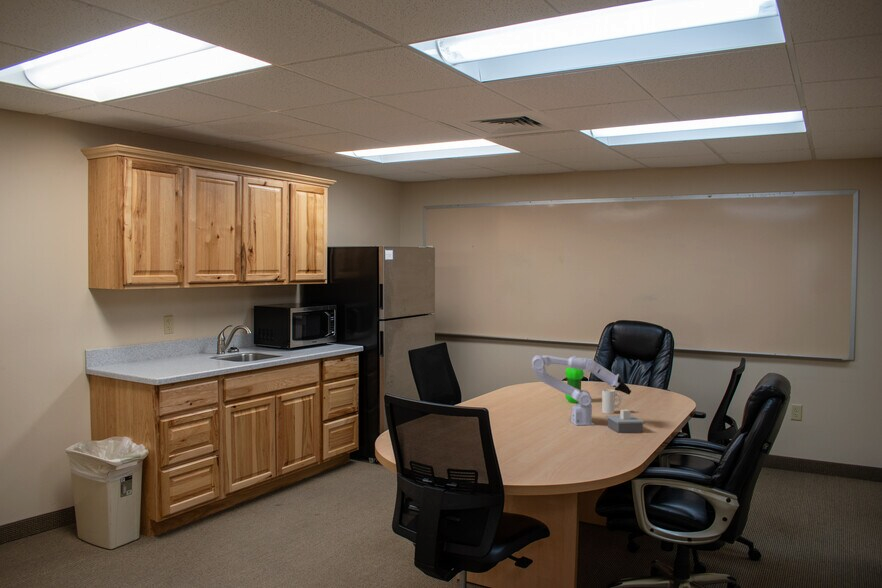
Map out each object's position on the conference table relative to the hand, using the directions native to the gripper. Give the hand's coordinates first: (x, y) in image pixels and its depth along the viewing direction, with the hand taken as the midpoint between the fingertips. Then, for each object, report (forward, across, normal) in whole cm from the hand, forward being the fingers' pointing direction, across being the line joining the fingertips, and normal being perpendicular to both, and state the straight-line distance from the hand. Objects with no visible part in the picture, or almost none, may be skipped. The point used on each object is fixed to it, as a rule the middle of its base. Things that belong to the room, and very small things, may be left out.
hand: (629, 391), depth 318 cm
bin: (+7, -9, +16) cm, 19 cm away
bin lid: (+4, -9, +12) cm, 15 cm away
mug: (+5, +28, +17) cm, 33 cm away
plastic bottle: (-10, +52, +27) cm, 60 cm away
